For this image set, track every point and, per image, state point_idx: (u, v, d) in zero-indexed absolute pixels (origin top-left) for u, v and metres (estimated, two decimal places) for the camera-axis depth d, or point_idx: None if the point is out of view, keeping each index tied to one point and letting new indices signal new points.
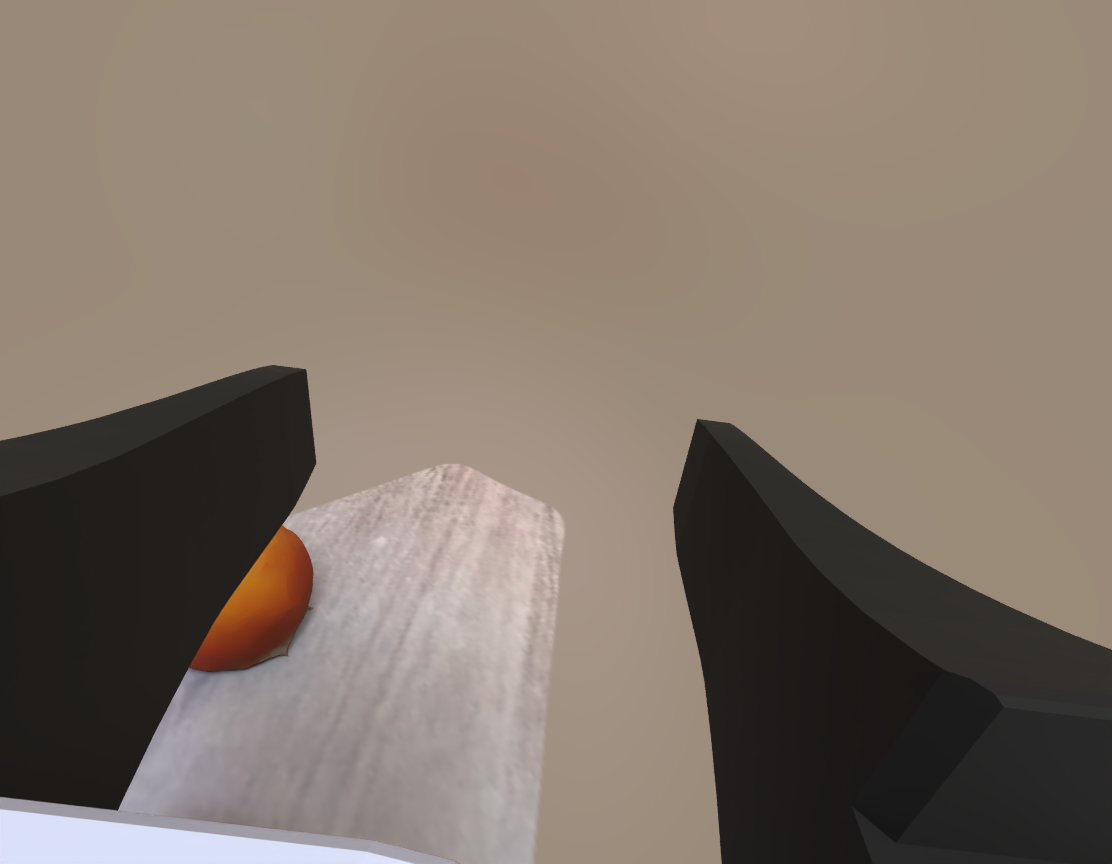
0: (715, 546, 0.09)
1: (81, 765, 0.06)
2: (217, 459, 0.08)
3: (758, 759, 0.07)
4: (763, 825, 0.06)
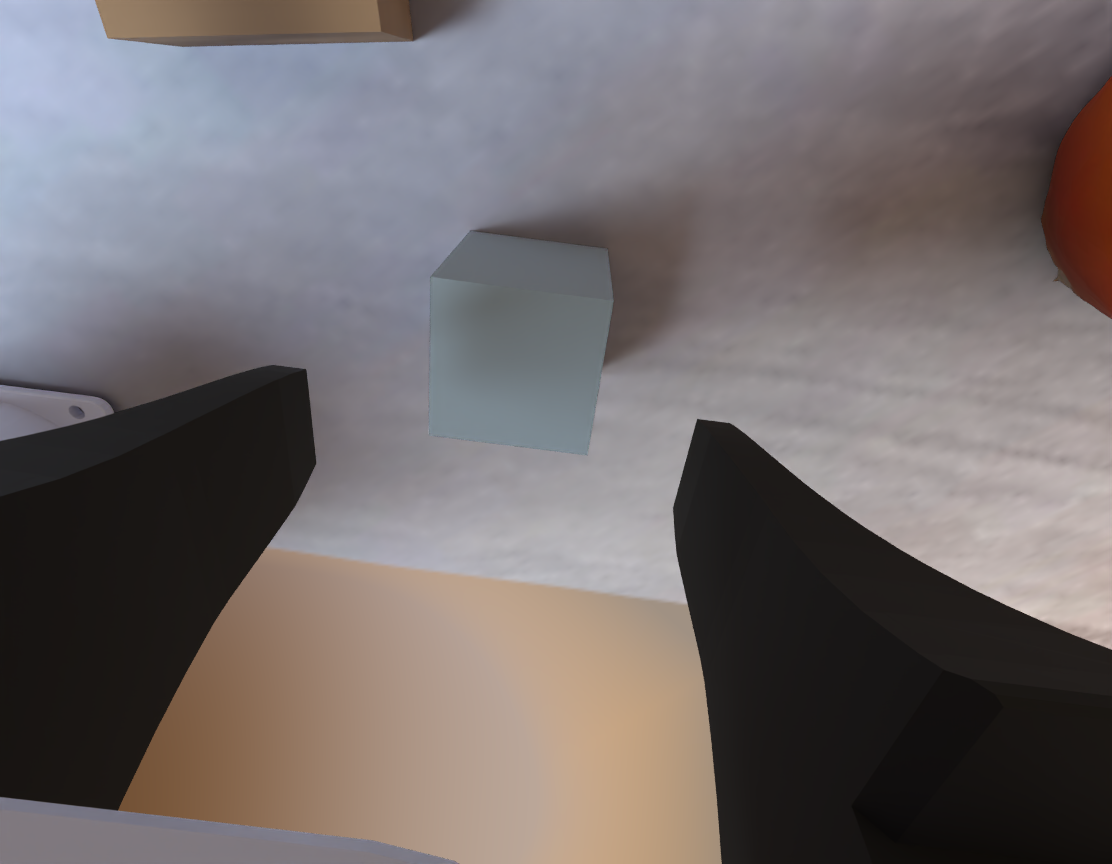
0: (715, 546, 0.09)
1: (81, 765, 0.06)
2: (217, 459, 0.08)
3: (758, 759, 0.07)
4: (763, 825, 0.06)
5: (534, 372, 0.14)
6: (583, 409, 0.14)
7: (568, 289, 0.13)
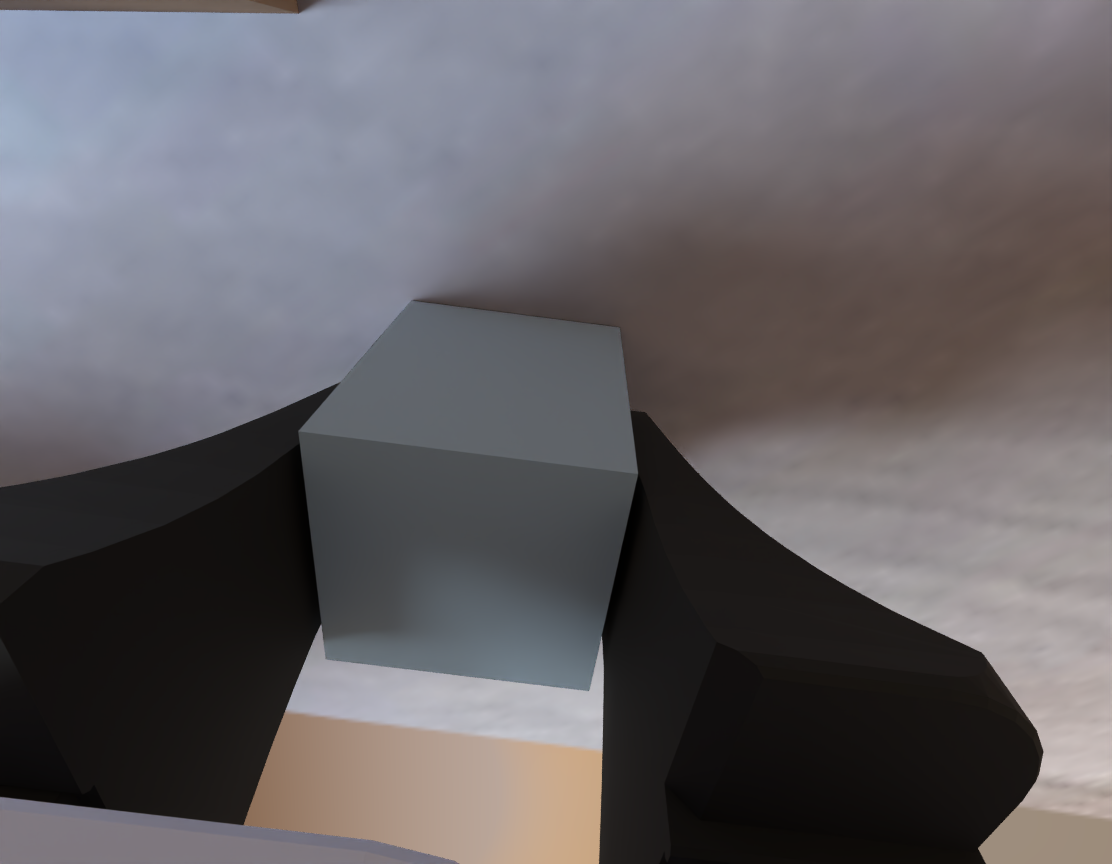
0: None
1: (220, 781, 0.06)
2: None
3: (623, 743, 0.07)
4: (621, 808, 0.06)
5: (497, 577, 0.08)
6: (582, 630, 0.08)
7: (555, 444, 0.07)
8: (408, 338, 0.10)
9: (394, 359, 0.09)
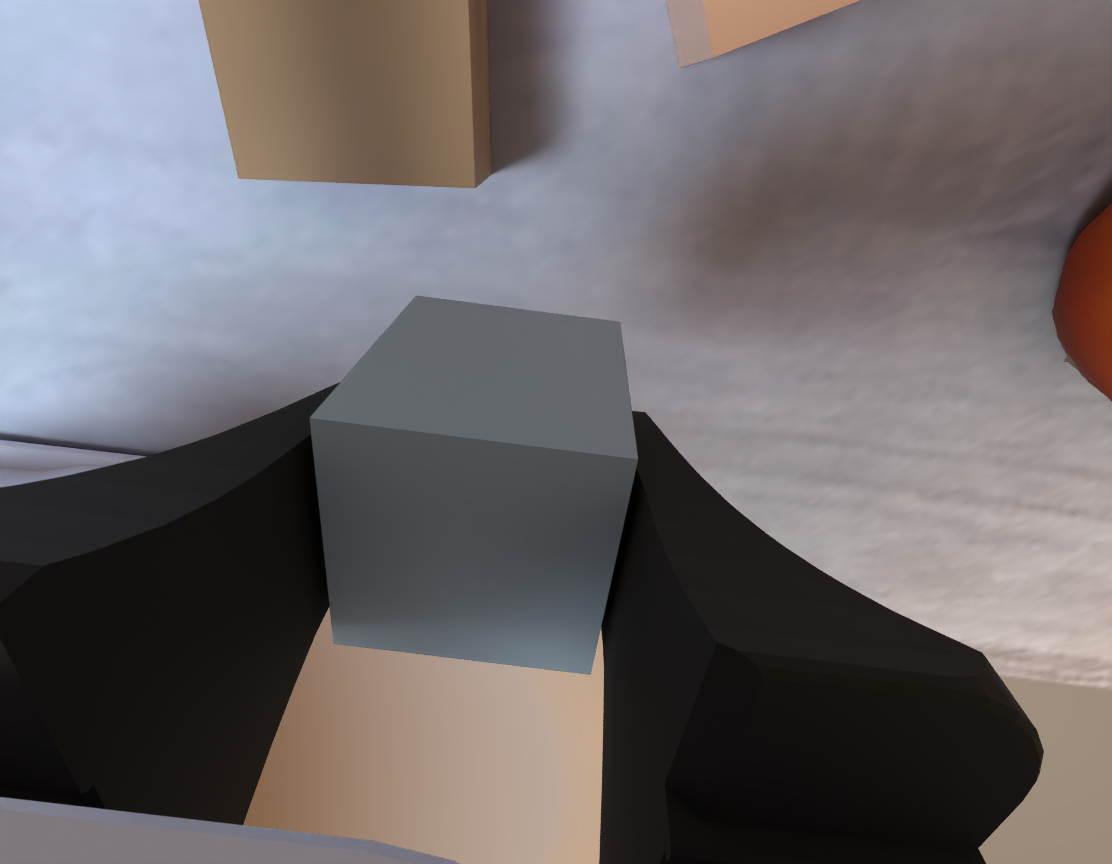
0: None
1: (220, 781, 0.06)
2: None
3: (624, 743, 0.07)
4: (621, 809, 0.06)
5: (501, 562, 0.08)
6: (583, 614, 0.08)
7: (557, 431, 0.07)
8: (413, 331, 0.10)
9: (400, 351, 0.09)
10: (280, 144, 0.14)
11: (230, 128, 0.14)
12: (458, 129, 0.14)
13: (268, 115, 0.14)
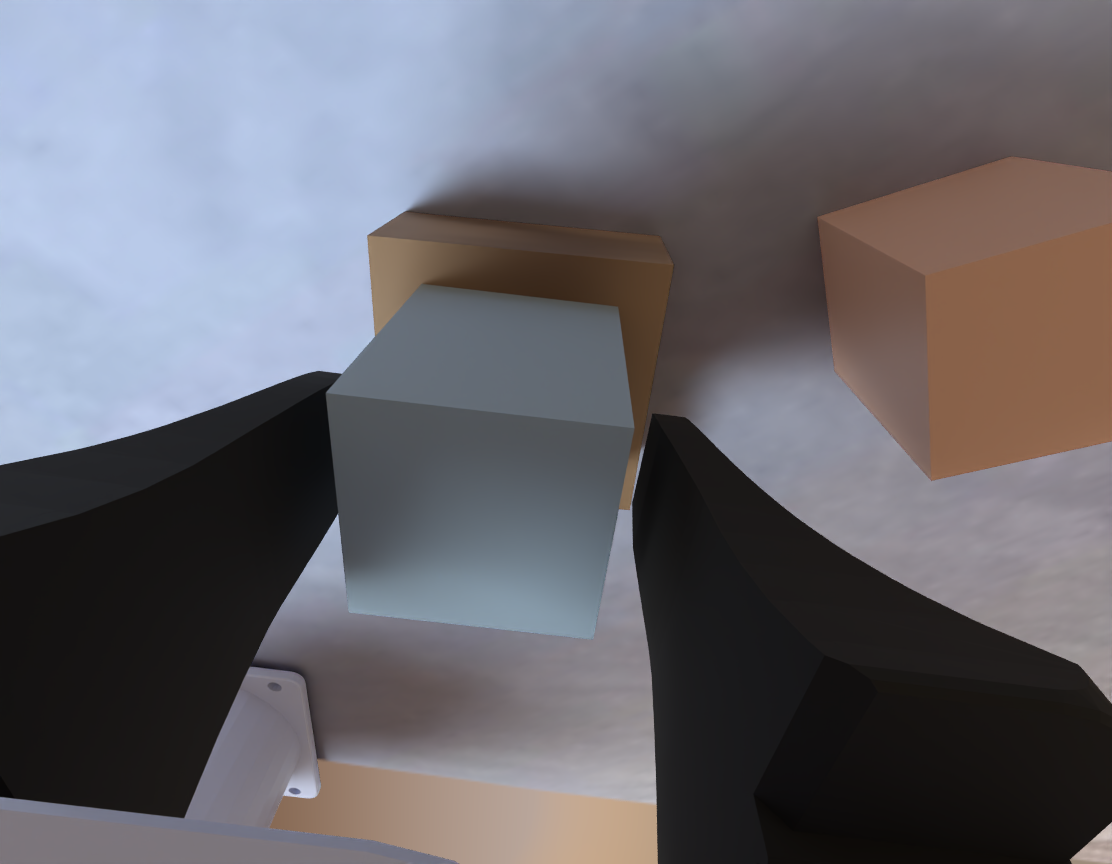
0: (662, 540, 0.09)
1: (155, 774, 0.06)
2: (274, 466, 0.08)
3: (687, 751, 0.07)
4: (689, 816, 0.06)
5: (507, 530, 0.09)
6: (585, 580, 0.09)
7: (558, 404, 0.08)
8: (420, 316, 0.10)
9: (408, 334, 0.10)
10: None
11: None
12: None
13: None
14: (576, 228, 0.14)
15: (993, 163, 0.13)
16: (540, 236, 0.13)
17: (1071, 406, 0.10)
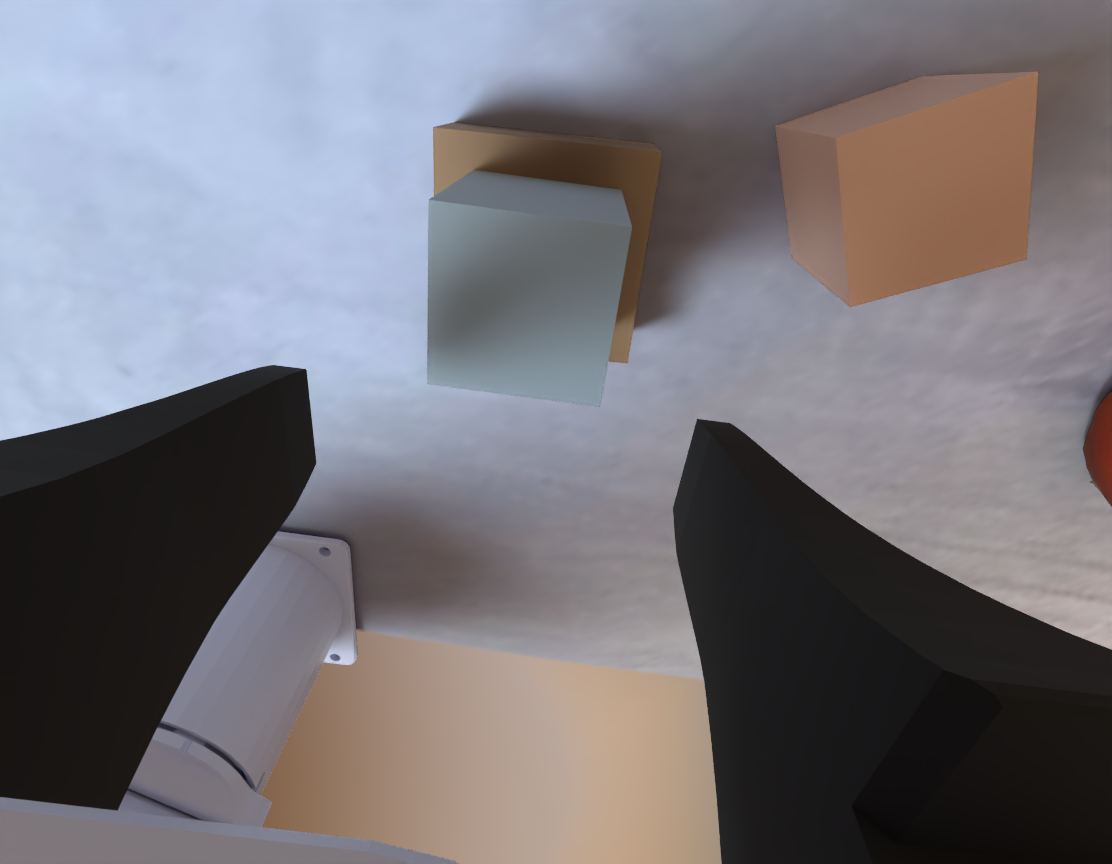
0: (715, 546, 0.09)
1: (81, 765, 0.06)
2: (217, 459, 0.08)
3: (758, 759, 0.07)
4: (763, 826, 0.06)
5: (543, 311, 0.12)
6: (596, 353, 0.13)
7: (581, 216, 0.12)
8: (478, 181, 0.14)
9: (472, 186, 0.13)
10: None
11: None
12: (622, 322, 0.18)
13: None
14: None
15: (908, 81, 0.16)
16: (561, 137, 0.17)
17: (946, 243, 0.14)
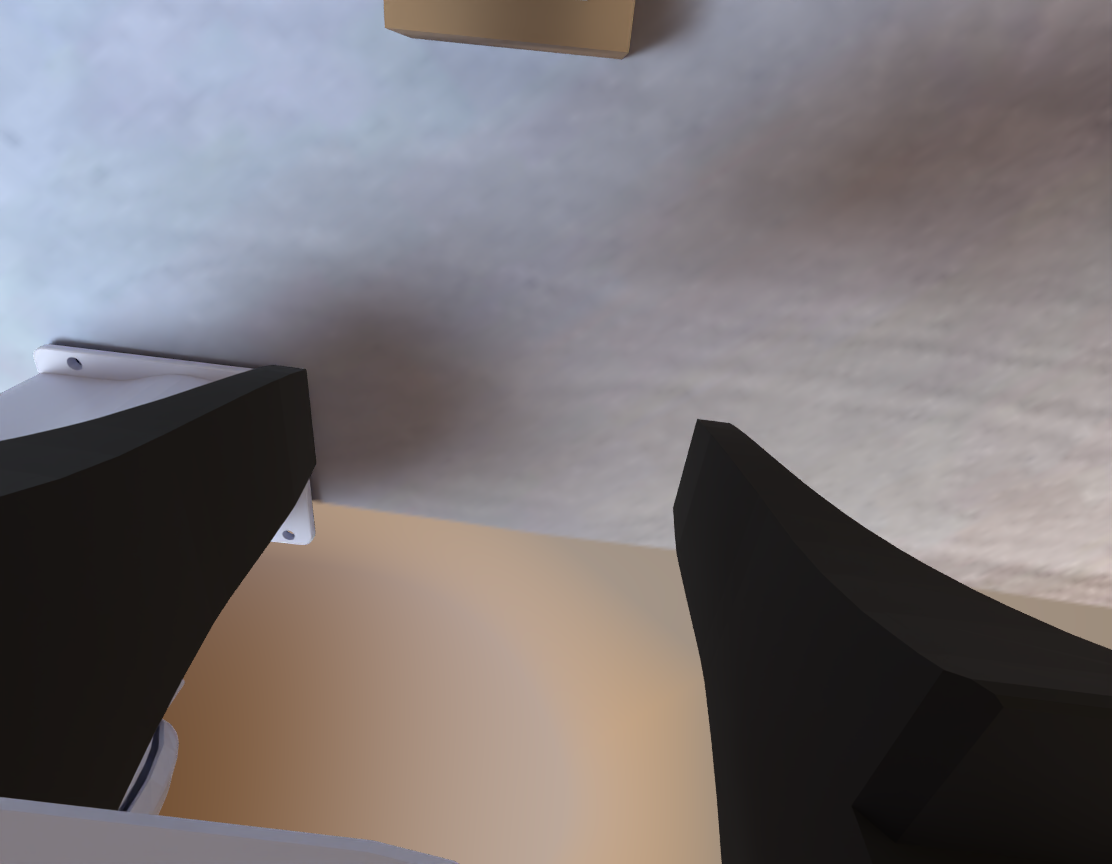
0: (715, 546, 0.09)
1: (81, 765, 0.06)
2: (217, 459, 0.08)
3: (758, 759, 0.07)
4: (764, 825, 0.06)
5: None
6: None
7: None
8: None
9: None
10: None
11: None
12: None
13: None
14: None
15: None
16: None
17: None
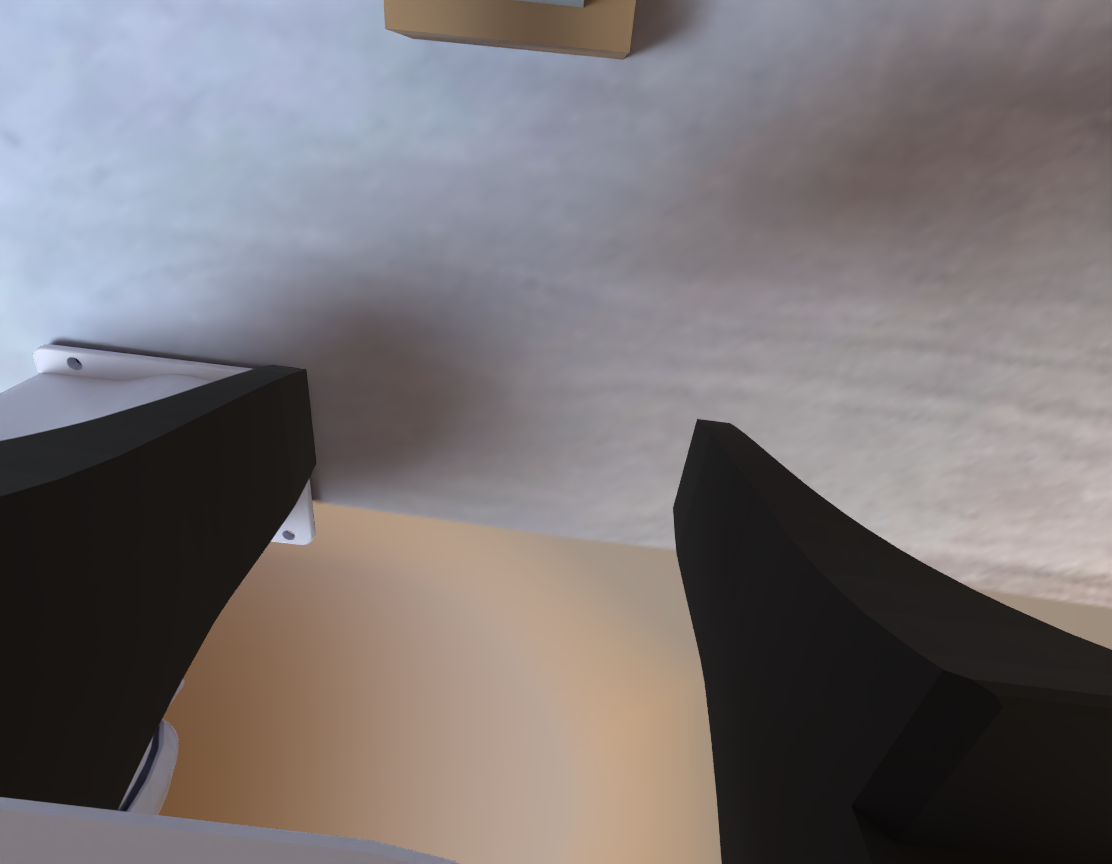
0: (715, 546, 0.09)
1: (81, 765, 0.06)
2: (217, 459, 0.08)
3: (758, 759, 0.07)
4: (764, 825, 0.06)
5: None
6: None
7: None
8: None
9: None
10: None
11: None
12: None
13: None
14: None
15: None
16: None
17: None
